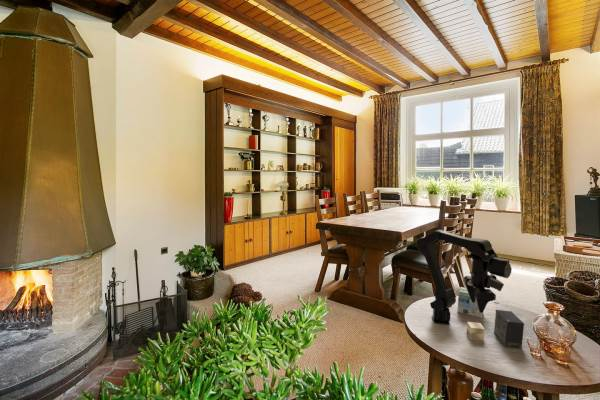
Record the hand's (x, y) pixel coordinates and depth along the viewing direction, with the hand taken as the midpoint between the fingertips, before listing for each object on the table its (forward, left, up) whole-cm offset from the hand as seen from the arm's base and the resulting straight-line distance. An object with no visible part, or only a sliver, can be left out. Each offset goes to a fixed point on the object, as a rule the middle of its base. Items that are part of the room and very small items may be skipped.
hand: (477, 307), depth 123 cm
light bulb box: (+5, +23, -13) cm, 27 cm away
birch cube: (0, 0, -13) cm, 13 cm away
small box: (+12, 0, -13) cm, 18 cm away
